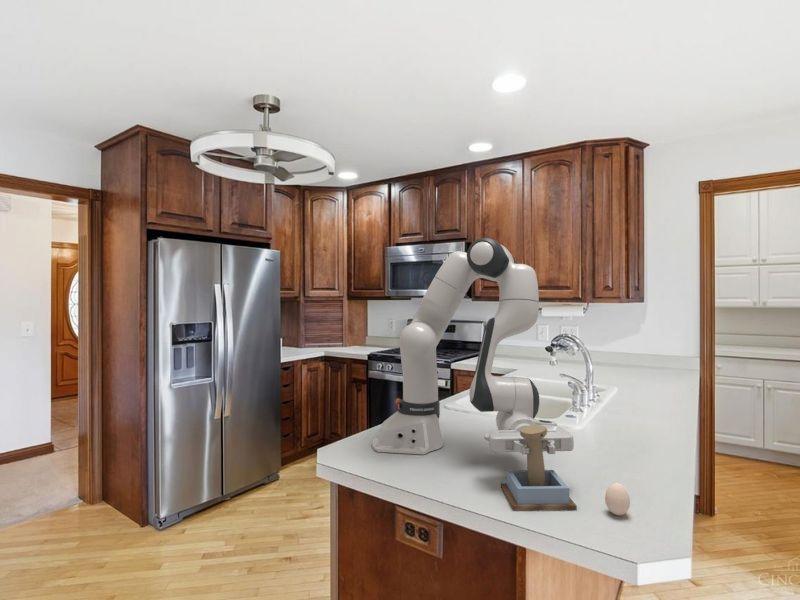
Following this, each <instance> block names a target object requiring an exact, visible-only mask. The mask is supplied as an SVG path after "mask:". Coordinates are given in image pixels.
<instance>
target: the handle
mask: <svg viewBox="0 0 800 600" xmlns="http://www.w3.org/2000/svg"><path fill="white" fill-rule="evenodd" d="M546 434H547V428H546V427H544V426H541V425H531V426H526V427H523V428H522V429H521V430H520V435H521V436H522V437H523V438H525V439H527V445H528V446H529V452H530V454H526V470H527V474H528V481H529V485H530V486H544V484H545V470H546V469H545V461H544V460H545V459H544V451H542V438H544V437H545V435H546Z"/></svg>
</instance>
